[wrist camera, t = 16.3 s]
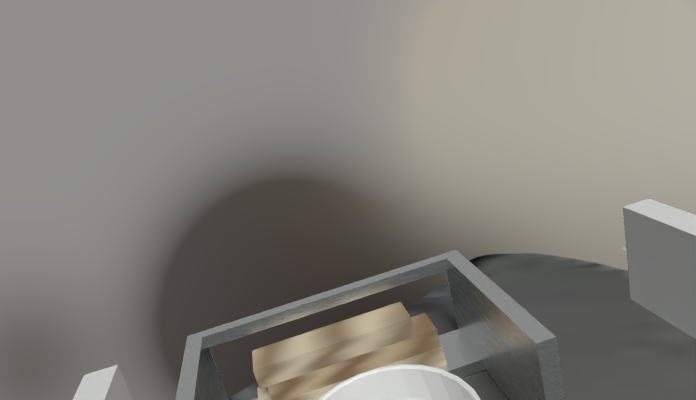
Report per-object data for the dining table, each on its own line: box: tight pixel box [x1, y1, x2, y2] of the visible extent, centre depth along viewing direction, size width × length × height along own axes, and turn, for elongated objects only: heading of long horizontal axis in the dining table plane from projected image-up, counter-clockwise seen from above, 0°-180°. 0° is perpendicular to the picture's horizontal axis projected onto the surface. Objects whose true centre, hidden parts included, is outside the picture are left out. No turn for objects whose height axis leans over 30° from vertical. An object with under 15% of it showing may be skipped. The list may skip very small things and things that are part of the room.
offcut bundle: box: [252, 302, 447, 400], centre depth 51 cm, size 18×4×6 cm, turn 101°
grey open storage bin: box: [176, 250, 566, 400], centre depth 45 cm, size 28×18×10 cm, turn 101°
